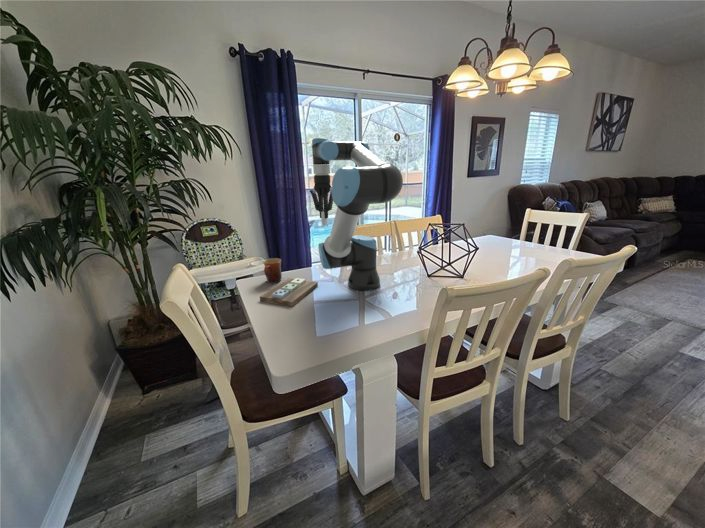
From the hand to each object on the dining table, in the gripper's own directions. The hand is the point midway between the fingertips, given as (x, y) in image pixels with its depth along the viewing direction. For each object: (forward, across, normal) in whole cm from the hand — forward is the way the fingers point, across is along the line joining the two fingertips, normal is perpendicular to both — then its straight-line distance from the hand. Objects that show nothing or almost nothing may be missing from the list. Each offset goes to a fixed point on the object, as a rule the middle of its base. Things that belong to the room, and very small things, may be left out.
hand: (324, 225), depth 140 cm
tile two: (+26, +6, +25) cm, 37 cm away
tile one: (+26, +6, +18) cm, 32 cm away
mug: (+27, +22, +16) cm, 38 cm away
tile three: (+26, +6, +32) cm, 42 cm away
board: (+26, +6, +25) cm, 37 cm away
